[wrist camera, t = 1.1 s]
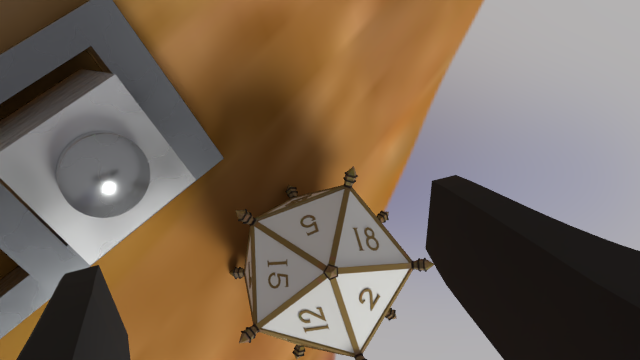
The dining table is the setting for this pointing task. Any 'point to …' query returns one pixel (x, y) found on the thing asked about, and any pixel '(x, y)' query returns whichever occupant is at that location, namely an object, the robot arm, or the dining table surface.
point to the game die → (322, 271)
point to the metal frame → (147, 90)
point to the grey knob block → (89, 161)
